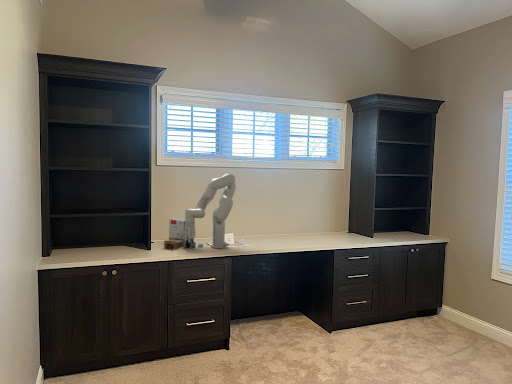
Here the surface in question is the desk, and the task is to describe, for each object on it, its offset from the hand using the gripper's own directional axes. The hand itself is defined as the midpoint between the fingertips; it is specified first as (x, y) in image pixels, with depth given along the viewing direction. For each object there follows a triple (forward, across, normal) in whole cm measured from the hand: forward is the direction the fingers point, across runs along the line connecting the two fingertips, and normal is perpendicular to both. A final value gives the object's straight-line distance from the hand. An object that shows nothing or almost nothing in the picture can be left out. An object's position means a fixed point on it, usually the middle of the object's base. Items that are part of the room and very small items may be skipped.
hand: (189, 246), depth 302 cm
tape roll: (+1, +7, -6) cm, 9 cm away
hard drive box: (+1, +13, +17) cm, 21 cm away
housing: (+1, 0, 0) cm, 1 cm away
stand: (+1, -3, +12) cm, 12 cm away
